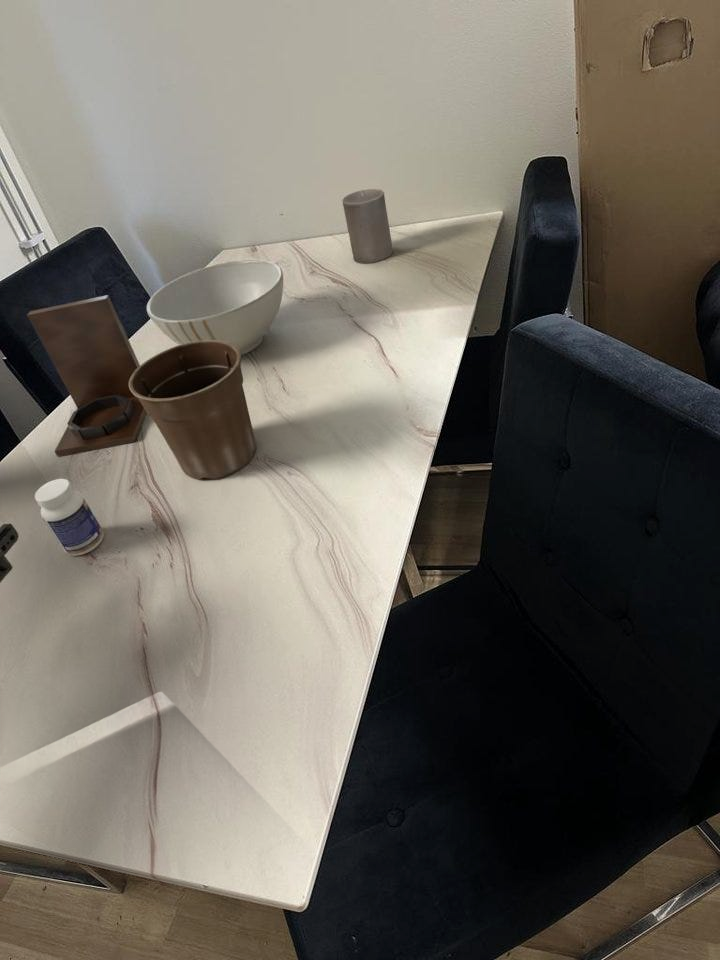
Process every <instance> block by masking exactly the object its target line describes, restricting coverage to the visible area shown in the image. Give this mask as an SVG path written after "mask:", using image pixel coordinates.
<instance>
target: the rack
mask: <svg viewBox="0 0 720 960" xmlns="http://www.w3.org/2000/svg"><path fill="white" fill-rule="evenodd" d="M26 316H27V318H28V320H29V321H30V323H31V325H32V327H33V329H34V331H35V333H36V334H37V336H38V338H39V340H40V342H41V344H42V346H43V348H44V349H45V351H46V353H47V355H48V356H49V359H50V360H51V362H52V364H53V366H54V367H55V370H56V371H57V373H58V375H59V378H60V379H61V380H62V382H63V384H64V386H65V388H66V390H67V391H68V394H69V395H70V397H71V399H72V401H73V402H74V404H75V407H76V409H75V410H74V411H73V412H72V413H71V416H70V418H69V419H68V421H67V423H66V424H67V427H66V428H65V430H64V433H63V435H62V436H61V438H60V440H59V442H58V443H57V446H56V448H55V450H54V453H55V455H56V456H57V457H64V456H68V455H74V454H79V453H84V452H90V451H95V450H100V449H106V448H111V447H116V446H122V445H127V444H133V443H136V442H137V439H138V437H139V434H140V431H141V429H142V427H143V424H144V422H145V418H146V415H147V414H148V413H147V412H146V410H145V409H144V407H143V405H142V404H141V402H140V400H139V399H138V398H137V397H135V396H134V395H133V394H132V392H131V390H130V388H129V380H130V378H131V376H132V374H133V373H134V372H135V370H136V369H137V368H138V367H139V366H141V364H140V362H139V360H138V357H137V355H136V352H135V351H134V349H133V346H132V345H131V342H130V340H129V337H128V336H127V333H126V331H125V329H124V327H123V324H122V322H121V320H120V318H119V316H118V313H117V311H116V309H115V306H114V304H113V302H112V300H111V298H110V295H109V294H107V295H106V294H105V295H102V296H101V295H100V296H97V297H92V298H88V299H83V300H77V301H73V302H69V303H64V304H58V305H55V306H53V305H52V306H50V307H45V308H40V309H39V308H38V309H35V310H30V311H29V312H28V314H27V315H26Z"/></svg>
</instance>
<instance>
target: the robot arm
mask: <svg viewBox="0 0 720 960" xmlns="http://www.w3.org/2000/svg"><path fill="white" fill-rule="evenodd" d="M18 540H19V532H18V531H17V529H16V528H15V527H14V525H13V524H12V523H3V524H2V525H1V526H0V583H2V582H3V580H4V579H5V578H6V577H7V576H8V574H9V573H10V572H11V571H12V570H13V567H14V566H13V564H11V562H10V560H9V559H8V558H7V557H6V554H8V552H9V551H10V550H11V549H12V547H13V546H14V545H15V544H16V543H17V542H18Z"/></svg>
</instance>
